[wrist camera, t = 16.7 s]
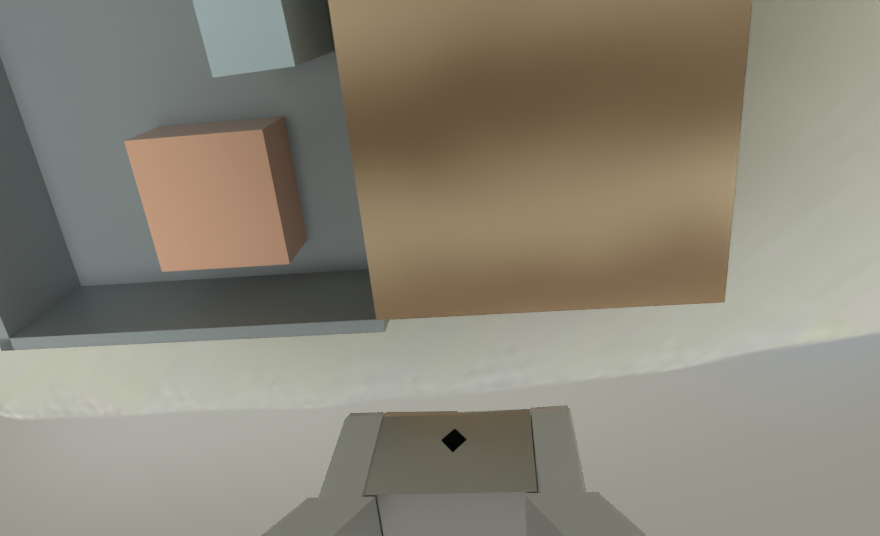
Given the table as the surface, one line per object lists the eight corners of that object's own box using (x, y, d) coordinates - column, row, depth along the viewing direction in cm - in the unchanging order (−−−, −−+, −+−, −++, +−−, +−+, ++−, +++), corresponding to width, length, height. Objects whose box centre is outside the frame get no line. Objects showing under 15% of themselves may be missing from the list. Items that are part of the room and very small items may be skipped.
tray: (-67, -125, 22) (-214, -156, 17) (344, -180, 20) (302, -230, 16) (80, 292, 28) (2, 350, 24) (402, 273, 27) (384, 331, 22)
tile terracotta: (262, 129, 22) (283, 116, 24) (123, 140, 22) (158, 126, 24) (289, 264, 24) (307, 240, 26) (162, 271, 24) (190, 247, 26)
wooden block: (349, -144, 21) (298, -192, 15) (695, -188, 20) (775, -258, 14) (399, 251, 26) (376, 320, 21) (673, 234, 25) (724, 302, 20)
